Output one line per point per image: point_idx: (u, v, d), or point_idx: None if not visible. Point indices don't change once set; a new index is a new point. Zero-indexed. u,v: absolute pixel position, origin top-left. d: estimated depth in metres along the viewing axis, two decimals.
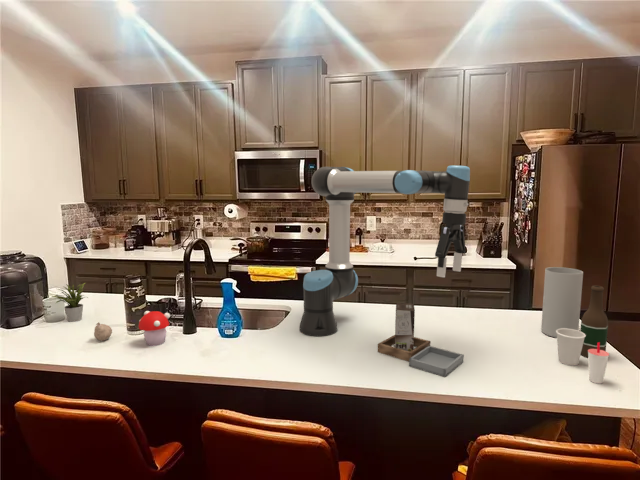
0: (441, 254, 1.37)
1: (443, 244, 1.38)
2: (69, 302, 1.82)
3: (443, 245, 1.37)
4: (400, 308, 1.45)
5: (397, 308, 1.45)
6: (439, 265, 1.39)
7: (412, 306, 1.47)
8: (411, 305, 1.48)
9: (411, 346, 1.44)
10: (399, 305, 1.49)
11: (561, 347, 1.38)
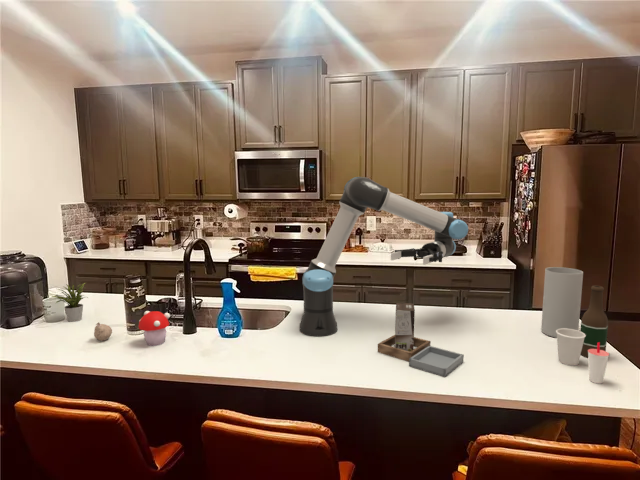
0: (441, 261, 1.59)
1: None
2: (69, 302, 1.82)
3: None
4: (400, 308, 1.45)
5: (397, 308, 1.45)
6: (432, 259, 1.57)
7: (412, 306, 1.47)
8: (411, 305, 1.48)
9: (411, 346, 1.44)
10: (399, 305, 1.49)
11: (561, 347, 1.38)
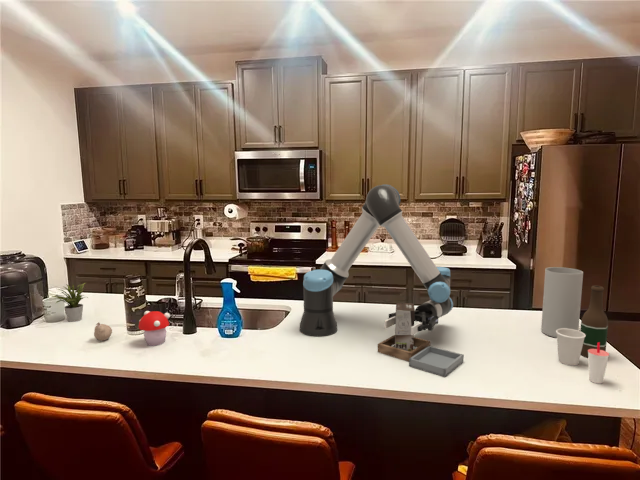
0: (431, 329, 1.46)
1: (433, 325, 1.48)
2: (69, 302, 1.82)
3: (433, 326, 1.48)
4: (400, 308, 1.45)
5: (397, 308, 1.45)
6: (421, 328, 1.43)
7: (412, 306, 1.47)
8: (411, 305, 1.48)
9: (411, 346, 1.44)
10: (399, 305, 1.49)
11: (561, 347, 1.38)
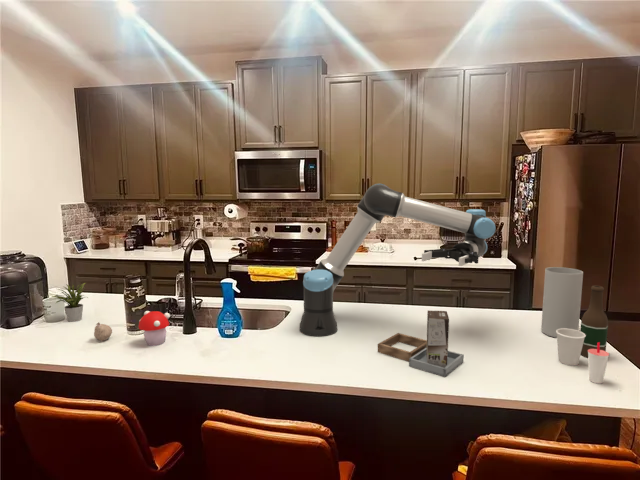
0: (477, 262, 1.47)
1: None
2: (69, 302, 1.82)
3: None
4: (433, 316, 1.34)
5: (430, 316, 1.34)
6: (468, 260, 1.45)
7: (445, 314, 1.36)
8: (444, 313, 1.37)
9: (445, 357, 1.33)
10: (431, 313, 1.38)
11: (561, 347, 1.38)
